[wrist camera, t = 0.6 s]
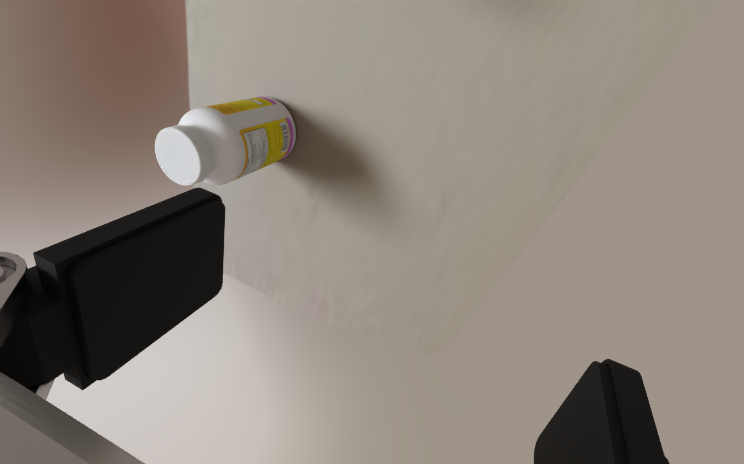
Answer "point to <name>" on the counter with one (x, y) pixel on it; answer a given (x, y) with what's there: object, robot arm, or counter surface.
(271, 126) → the supplement bottle
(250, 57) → the counter surface
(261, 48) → the counter surface
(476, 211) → the counter surface
